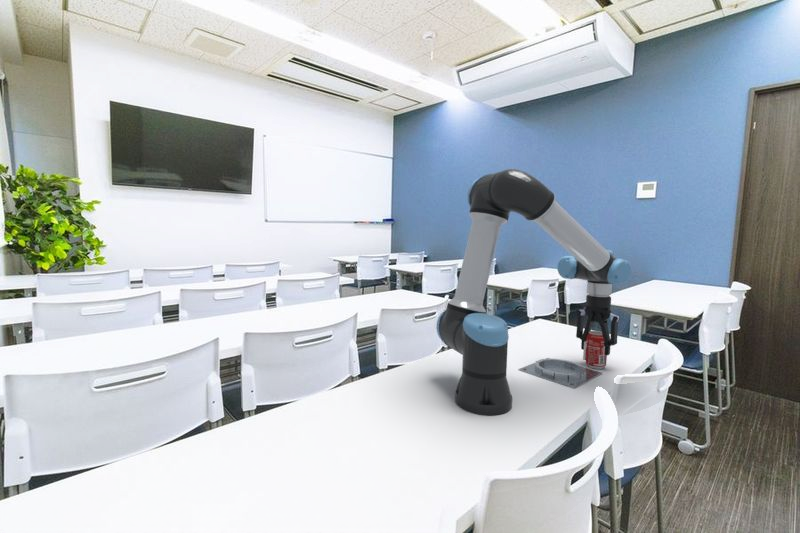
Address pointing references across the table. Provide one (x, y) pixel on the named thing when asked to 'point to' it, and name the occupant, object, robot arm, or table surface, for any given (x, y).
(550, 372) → the duct flange
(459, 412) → the table surface
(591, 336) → the beverage can
